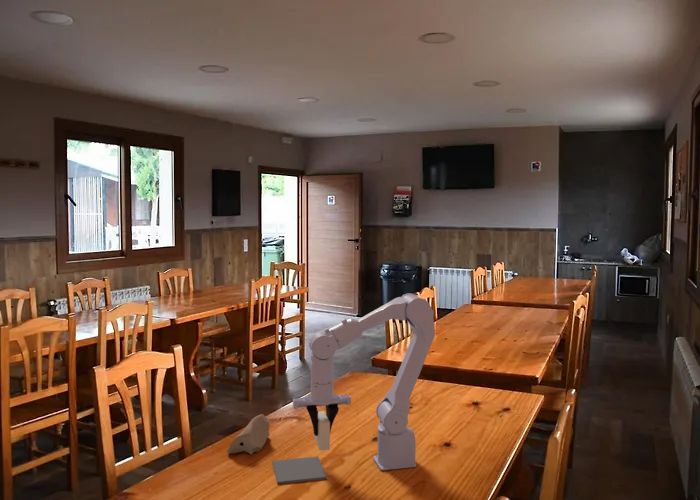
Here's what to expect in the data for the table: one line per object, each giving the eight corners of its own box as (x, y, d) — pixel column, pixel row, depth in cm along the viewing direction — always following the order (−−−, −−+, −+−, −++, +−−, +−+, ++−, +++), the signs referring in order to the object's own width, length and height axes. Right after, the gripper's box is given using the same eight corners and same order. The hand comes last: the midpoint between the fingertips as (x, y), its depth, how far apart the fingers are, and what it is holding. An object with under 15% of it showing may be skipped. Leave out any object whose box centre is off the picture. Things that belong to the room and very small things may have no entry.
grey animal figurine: (275, 438, 171) (275, 410, 170) (251, 459, 157) (251, 429, 157) (250, 435, 174) (250, 407, 173) (224, 455, 160) (223, 425, 159)
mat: (318, 458, 157) (318, 456, 157) (326, 479, 146) (326, 476, 146) (272, 463, 155) (272, 460, 155) (277, 484, 143) (277, 481, 143)
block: (323, 437, 155) (323, 411, 155) (329, 449, 148) (329, 422, 147) (314, 438, 155) (314, 411, 154) (319, 450, 147) (319, 422, 146)
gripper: (346, 374, 155) (346, 425, 156) (291, 378, 152) (291, 430, 153) (353, 382, 148) (352, 436, 149) (295, 386, 145) (295, 440, 146)
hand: (321, 433), depth 151 cm, fingers closed on block, 2 cm apart
